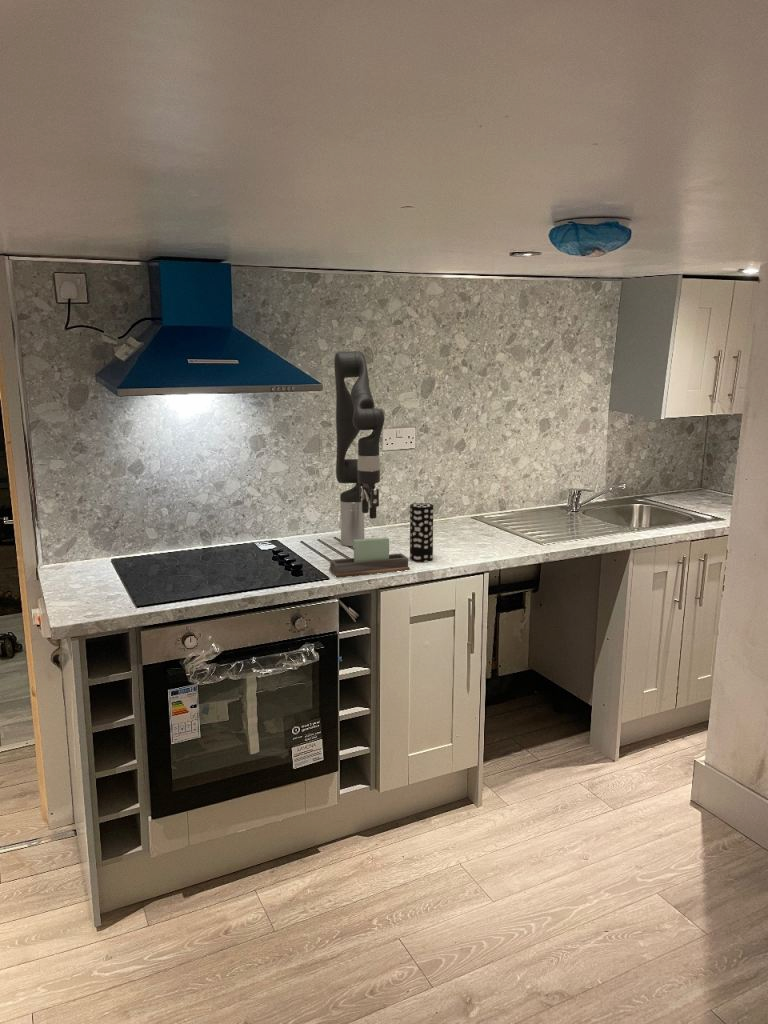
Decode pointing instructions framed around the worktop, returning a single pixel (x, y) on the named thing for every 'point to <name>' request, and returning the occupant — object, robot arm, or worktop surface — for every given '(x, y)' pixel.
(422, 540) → the spotted tube
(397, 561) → the door track
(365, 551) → the door panel
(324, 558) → the worktop surface
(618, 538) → the worktop surface
